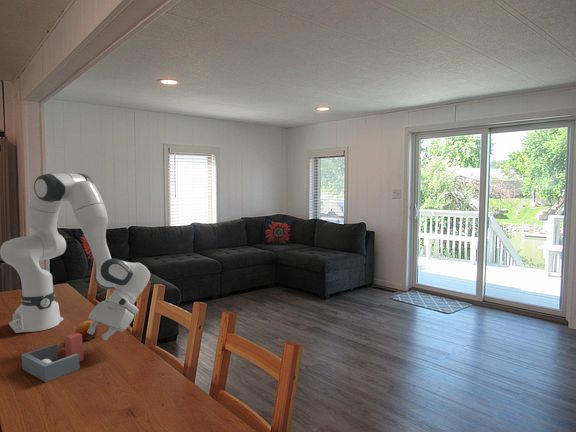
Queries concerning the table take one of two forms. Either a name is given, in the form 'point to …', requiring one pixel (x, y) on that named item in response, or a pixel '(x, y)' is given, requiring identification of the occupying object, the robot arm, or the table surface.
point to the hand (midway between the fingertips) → (96, 336)
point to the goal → (51, 370)
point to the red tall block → (74, 345)
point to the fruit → (84, 328)
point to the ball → (47, 361)
